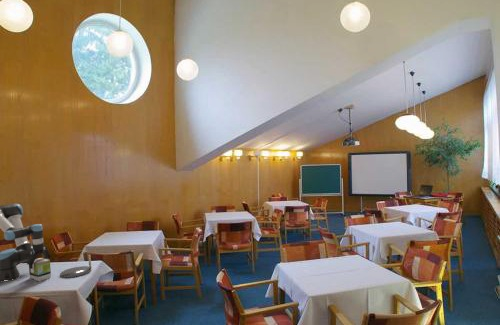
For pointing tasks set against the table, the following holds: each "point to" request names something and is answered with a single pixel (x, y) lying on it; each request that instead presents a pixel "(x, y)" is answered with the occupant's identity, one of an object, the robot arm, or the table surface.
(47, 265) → the tea box
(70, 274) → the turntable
